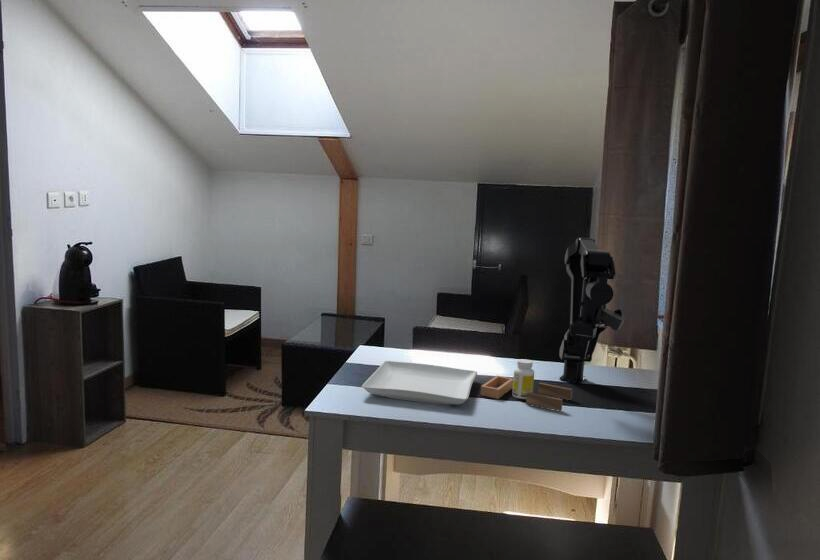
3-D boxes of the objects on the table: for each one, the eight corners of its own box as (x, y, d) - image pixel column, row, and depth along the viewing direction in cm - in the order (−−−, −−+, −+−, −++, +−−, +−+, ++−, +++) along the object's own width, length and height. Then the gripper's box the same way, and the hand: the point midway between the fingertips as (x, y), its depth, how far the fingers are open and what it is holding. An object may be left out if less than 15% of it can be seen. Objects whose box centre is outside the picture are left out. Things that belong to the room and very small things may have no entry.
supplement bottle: (535, 396, 174) (538, 360, 173) (528, 401, 169) (531, 365, 168) (516, 391, 177) (519, 357, 175) (508, 396, 172) (511, 361, 171)
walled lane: (538, 393, 177) (539, 382, 176) (571, 399, 173) (572, 389, 172) (525, 404, 167) (526, 393, 166) (560, 411, 163) (561, 400, 162)
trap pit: (496, 384, 183) (496, 375, 182) (513, 387, 180) (513, 378, 180) (480, 395, 172) (481, 386, 172) (498, 398, 170) (498, 389, 169)
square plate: (466, 413, 159) (467, 397, 158) (359, 399, 164) (360, 385, 163) (477, 381, 185) (478, 368, 185) (384, 371, 190) (385, 358, 190)
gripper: (615, 307, 159) (609, 368, 161) (631, 297, 175) (625, 353, 177) (571, 301, 164) (565, 360, 166) (590, 292, 180) (585, 346, 182)
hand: (587, 355), depth 173 cm, fingers open, 9 cm apart
